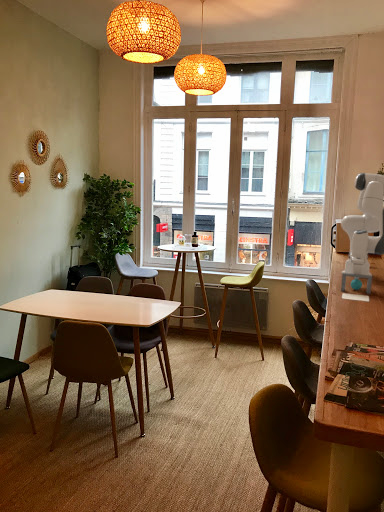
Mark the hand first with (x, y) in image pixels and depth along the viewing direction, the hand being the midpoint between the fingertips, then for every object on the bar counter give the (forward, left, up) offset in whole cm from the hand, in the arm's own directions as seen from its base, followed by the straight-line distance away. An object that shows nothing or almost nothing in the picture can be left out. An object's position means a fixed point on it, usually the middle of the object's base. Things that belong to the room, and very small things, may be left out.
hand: (356, 283), depth 261 cm
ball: (+6, 0, 0) cm, 6 cm away
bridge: (+13, 0, -3) cm, 13 cm away
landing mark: (+27, 0, -3) cm, 27 cm away
